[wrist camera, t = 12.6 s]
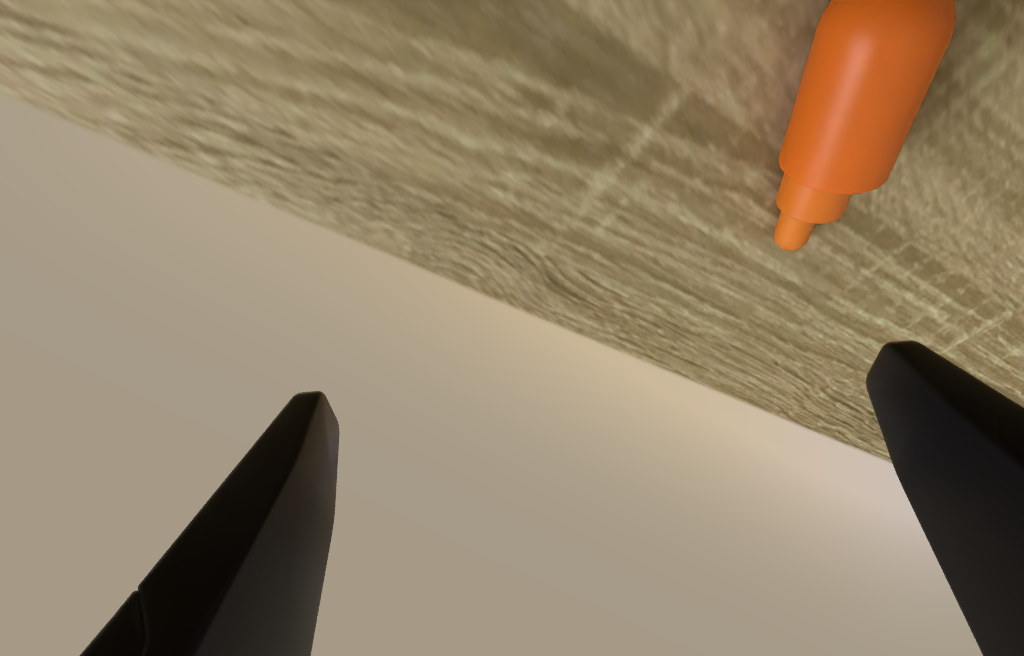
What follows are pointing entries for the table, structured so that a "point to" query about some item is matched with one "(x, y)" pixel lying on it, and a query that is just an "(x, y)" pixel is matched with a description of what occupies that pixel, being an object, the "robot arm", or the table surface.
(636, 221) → the table surface
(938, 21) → the carrot
